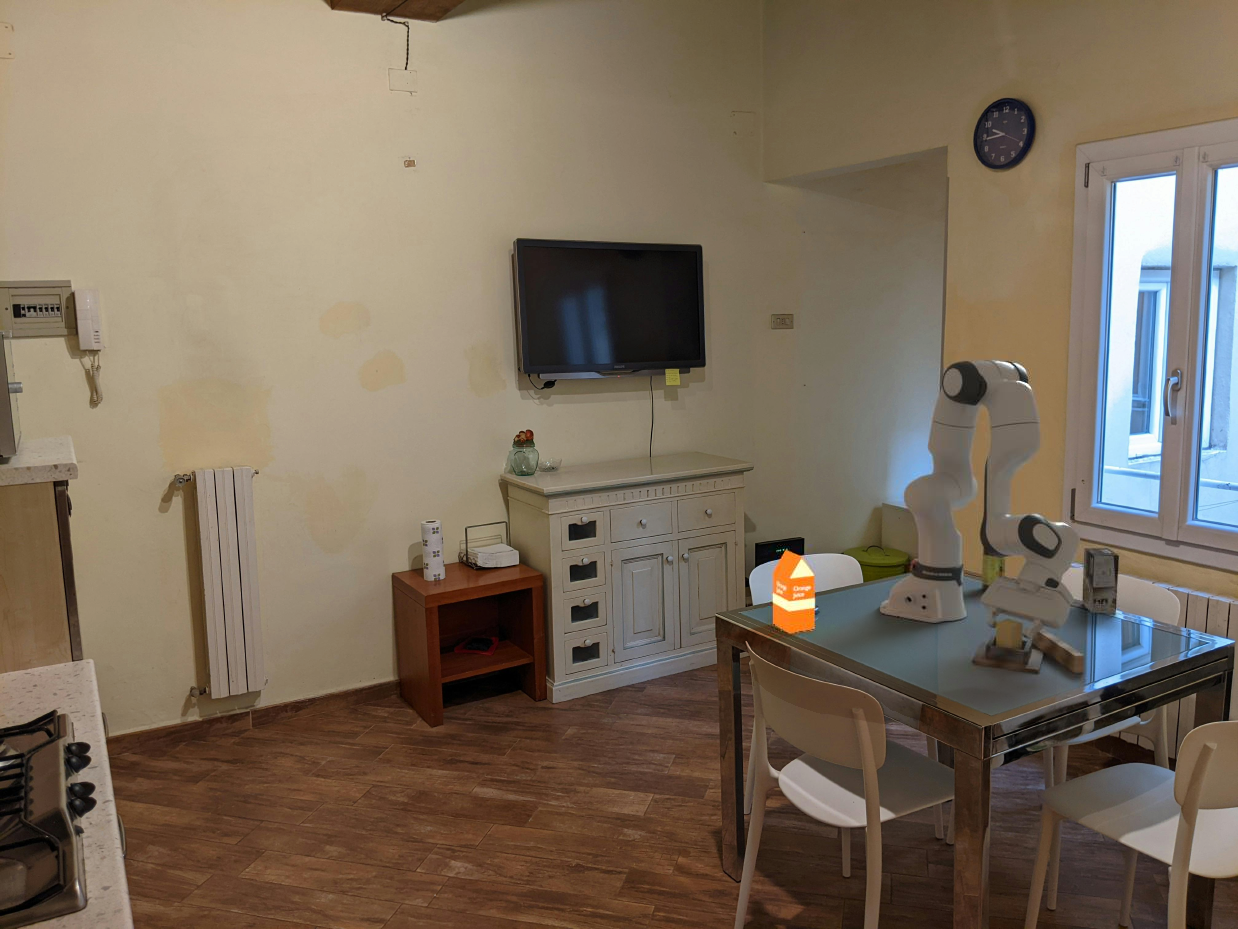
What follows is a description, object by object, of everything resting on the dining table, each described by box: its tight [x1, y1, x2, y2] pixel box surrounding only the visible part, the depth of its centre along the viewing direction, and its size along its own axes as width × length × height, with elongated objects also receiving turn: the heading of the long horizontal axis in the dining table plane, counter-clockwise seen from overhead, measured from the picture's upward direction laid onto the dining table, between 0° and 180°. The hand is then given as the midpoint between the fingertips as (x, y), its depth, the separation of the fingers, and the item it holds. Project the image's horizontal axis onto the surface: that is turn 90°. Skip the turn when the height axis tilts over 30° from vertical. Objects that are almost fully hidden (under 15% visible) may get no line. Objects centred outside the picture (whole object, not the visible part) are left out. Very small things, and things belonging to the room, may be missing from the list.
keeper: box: [972, 634, 1045, 674], centre depth 213 cm, size 14×14×4 cm
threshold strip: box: [1031, 628, 1085, 674], centre depth 213 cm, size 20×2×4 cm, turn 1°
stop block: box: [995, 618, 1024, 650], centre depth 212 cm, size 4×4×8 cm
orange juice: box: [772, 549, 816, 634], centre depth 239 cm, size 8×9×20 cm
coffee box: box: [1081, 547, 1120, 615], centre depth 248 cm, size 9×6×16 cm
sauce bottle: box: [981, 546, 1007, 591], centre depth 268 cm, size 6×6×20 cm
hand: (1008, 631), depth 212 cm, fingers open, 8 cm apart
